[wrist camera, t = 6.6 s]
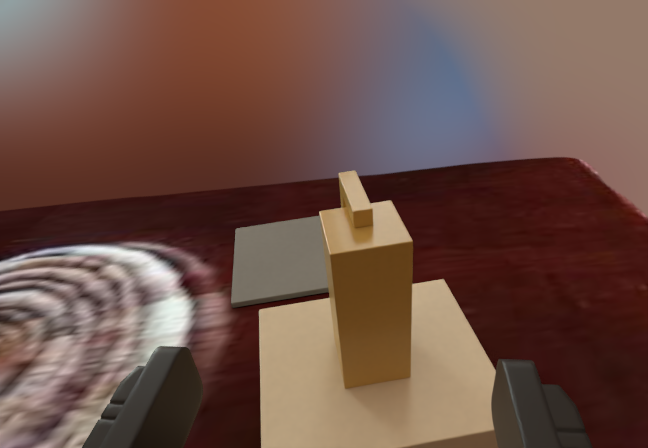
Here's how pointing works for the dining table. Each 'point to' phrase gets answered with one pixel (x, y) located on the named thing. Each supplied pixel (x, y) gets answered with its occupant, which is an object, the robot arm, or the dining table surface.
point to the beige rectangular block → (380, 398)
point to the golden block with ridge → (368, 286)
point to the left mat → (278, 262)
